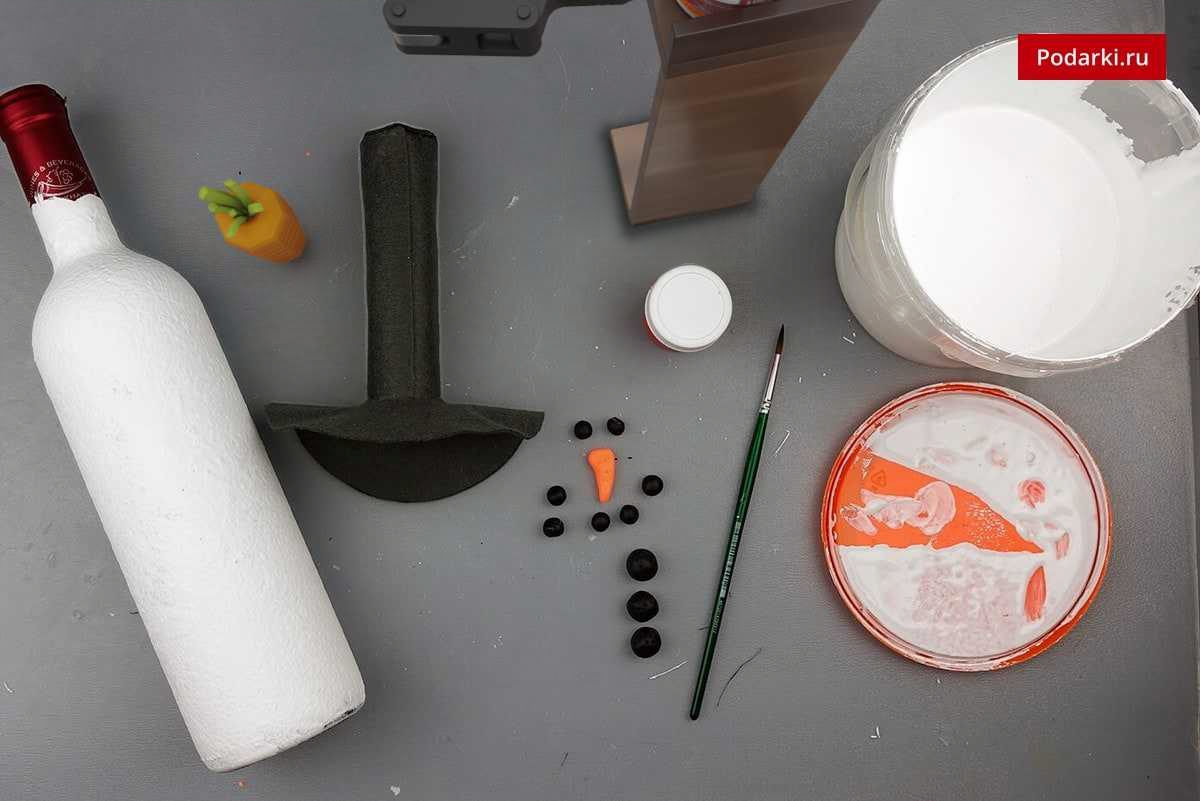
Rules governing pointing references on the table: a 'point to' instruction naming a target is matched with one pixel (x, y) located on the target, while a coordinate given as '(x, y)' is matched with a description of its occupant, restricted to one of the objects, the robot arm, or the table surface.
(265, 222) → the carrot
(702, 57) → the rack
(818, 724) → the table surface
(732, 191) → the stand
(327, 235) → the table surface
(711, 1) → the pill bottle
